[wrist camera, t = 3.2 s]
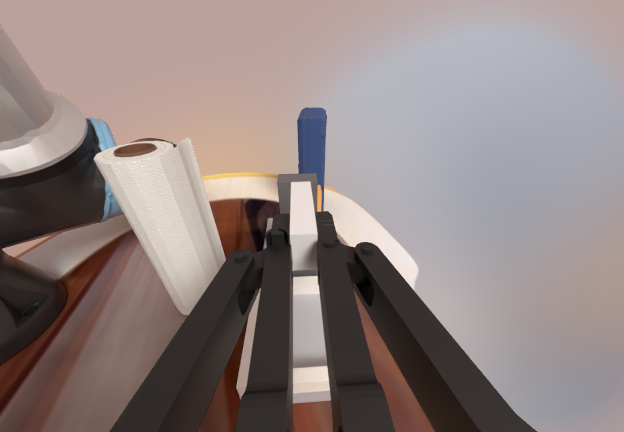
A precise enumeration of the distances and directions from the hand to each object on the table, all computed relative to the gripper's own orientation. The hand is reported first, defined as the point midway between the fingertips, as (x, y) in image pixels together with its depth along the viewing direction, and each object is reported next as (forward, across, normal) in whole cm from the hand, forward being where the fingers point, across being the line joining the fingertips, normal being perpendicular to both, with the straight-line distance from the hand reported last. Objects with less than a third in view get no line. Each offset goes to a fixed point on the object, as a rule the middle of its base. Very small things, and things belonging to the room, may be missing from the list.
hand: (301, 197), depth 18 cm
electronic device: (+29, +3, -19) cm, 35 cm away
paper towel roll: (+6, -14, -19) cm, 24 cm away
